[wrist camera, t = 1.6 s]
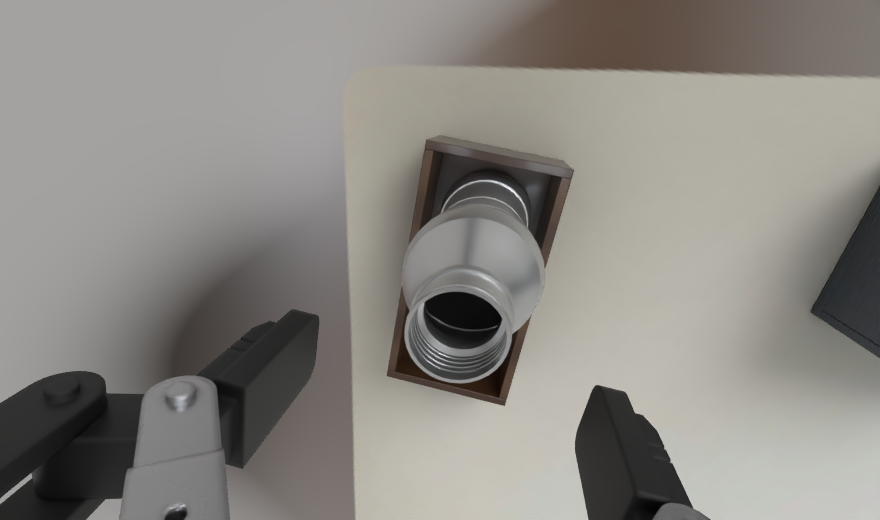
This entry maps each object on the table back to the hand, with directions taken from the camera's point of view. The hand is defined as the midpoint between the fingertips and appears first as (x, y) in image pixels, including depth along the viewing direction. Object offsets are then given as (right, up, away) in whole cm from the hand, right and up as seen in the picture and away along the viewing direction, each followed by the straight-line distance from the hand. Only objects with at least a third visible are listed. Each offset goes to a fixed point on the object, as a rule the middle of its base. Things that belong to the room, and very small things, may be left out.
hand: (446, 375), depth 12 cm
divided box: (+3, +3, +23) cm, 23 cm away
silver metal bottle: (+3, +7, +21) cm, 22 cm away
